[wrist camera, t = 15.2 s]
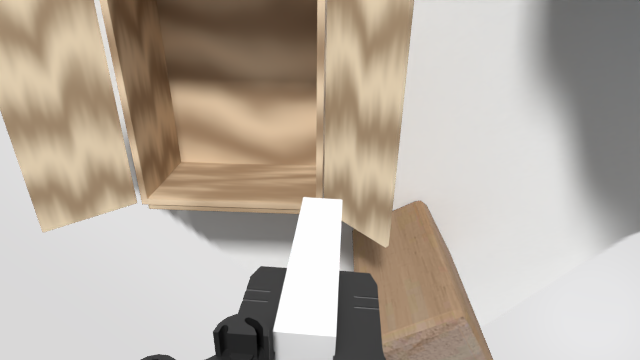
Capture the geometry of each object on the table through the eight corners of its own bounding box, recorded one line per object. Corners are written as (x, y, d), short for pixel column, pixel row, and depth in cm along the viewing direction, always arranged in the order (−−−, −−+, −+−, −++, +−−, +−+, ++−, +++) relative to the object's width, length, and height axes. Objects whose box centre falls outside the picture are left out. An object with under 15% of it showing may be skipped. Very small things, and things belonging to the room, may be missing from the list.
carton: (148, -24, 40) (92, -26, 31) (329, -22, 39) (325, -24, 30) (178, 167, 49) (142, 208, 40) (325, 172, 49) (321, 214, 40)
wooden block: (451, 254, 53) (507, 392, 35) (381, 280, 56) (401, 422, 38) (421, 195, 49) (467, 314, 31) (349, 226, 52) (353, 353, 34)
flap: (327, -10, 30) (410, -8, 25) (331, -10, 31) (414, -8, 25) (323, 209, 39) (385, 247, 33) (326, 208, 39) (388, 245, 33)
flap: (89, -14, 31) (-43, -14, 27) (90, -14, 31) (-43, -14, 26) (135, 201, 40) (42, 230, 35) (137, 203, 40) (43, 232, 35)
